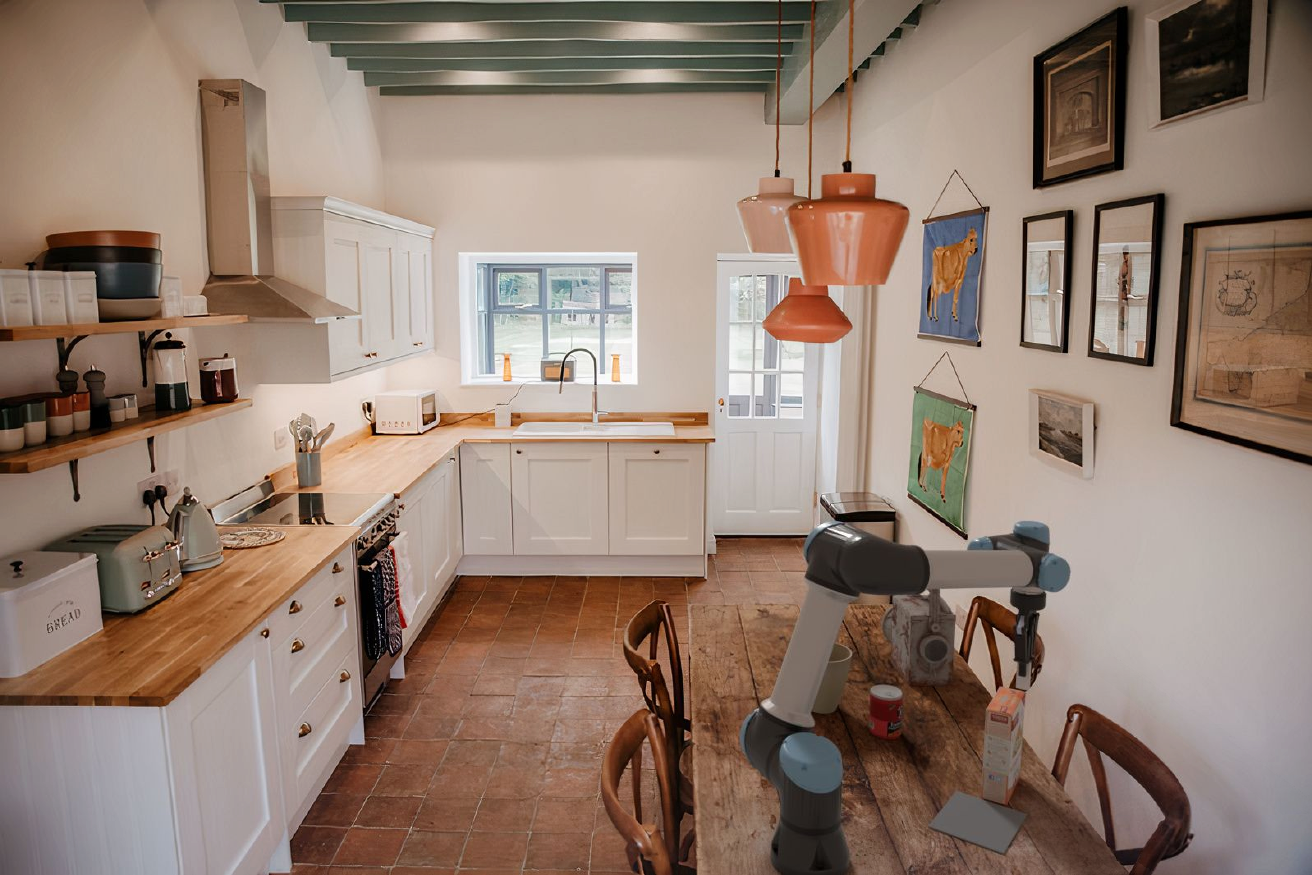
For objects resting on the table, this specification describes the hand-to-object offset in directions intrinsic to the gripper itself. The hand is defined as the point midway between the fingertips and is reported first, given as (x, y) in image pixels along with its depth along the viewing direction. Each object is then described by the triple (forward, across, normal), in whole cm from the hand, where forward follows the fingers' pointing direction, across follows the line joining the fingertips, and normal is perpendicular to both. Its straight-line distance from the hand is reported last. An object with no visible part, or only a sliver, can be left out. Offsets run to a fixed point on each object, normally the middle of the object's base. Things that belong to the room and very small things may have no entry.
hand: (1022, 687), depth 202 cm
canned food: (+19, -4, +31) cm, 36 cm away
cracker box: (+19, -14, 0) cm, 23 cm away
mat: (+19, -29, 0) cm, 35 cm away
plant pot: (+19, -1, +50) cm, 53 cm away
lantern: (+19, +37, +39) cm, 57 cm away
